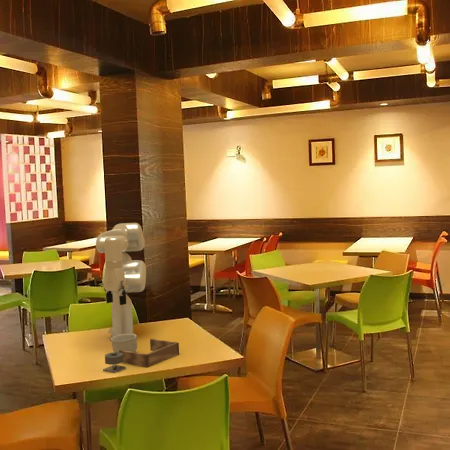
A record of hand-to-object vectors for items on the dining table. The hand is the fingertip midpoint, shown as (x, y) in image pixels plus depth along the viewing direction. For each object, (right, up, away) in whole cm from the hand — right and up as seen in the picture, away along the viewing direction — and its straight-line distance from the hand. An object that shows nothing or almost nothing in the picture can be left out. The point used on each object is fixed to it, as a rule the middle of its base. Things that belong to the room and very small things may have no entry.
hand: (116, 303), depth 261 cm
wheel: (+4, -19, -27) cm, 34 cm away
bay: (+16, -21, -13) cm, 30 cm away
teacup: (+5, -21, -6) cm, 23 cm away
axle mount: (+4, -23, -27) cm, 36 cm away
